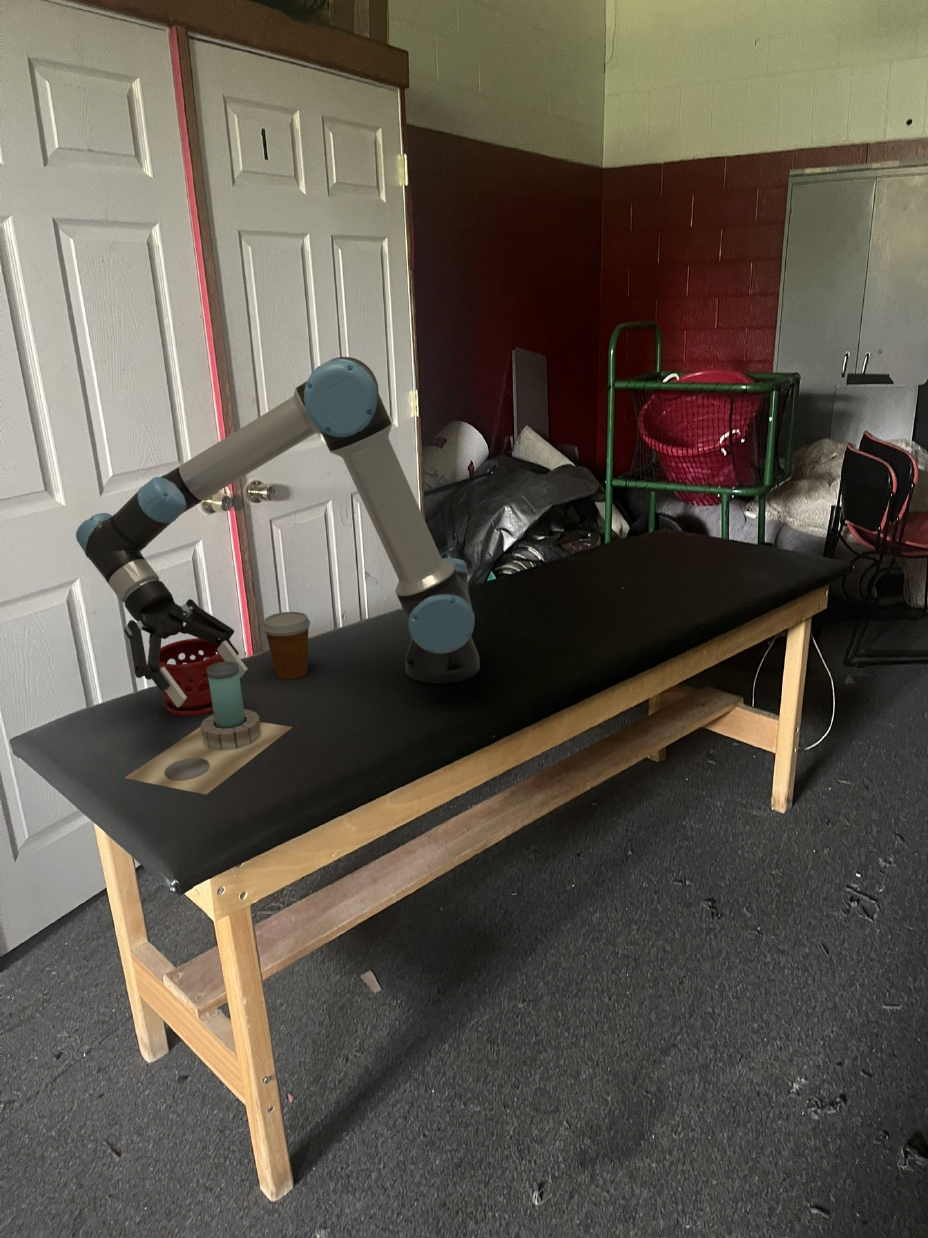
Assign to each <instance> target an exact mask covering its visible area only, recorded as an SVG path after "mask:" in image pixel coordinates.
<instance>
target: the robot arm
mask: <svg viewBox="0 0 928 1238" xmlns="http://www.w3.org/2000/svg"><path fill="white" fill-rule="evenodd" d="M379 391H380V390H379V383H378V380H377V377H376V376H375V374H374V372H373V371H372V370H371V368H370V367H369V366H368V365H367V364H366V363H364V362H363V361H361V360H359V359H358V358H354V357H349V356H340V357H334V358H331V359H329V360H328V361H325V362H324V363H322V364H320V365H318V366H317V367H316V368H315V369H314V370H313V371H312V372H311V374H310V375H309V377H308V379H307V380H306V381H305V382H303V383H302V384H300V385H298V386H296V387H295V389H294V394H293V396H291V397H290V398H288V399H287V400H285V401H284V402H282V403H280V404H279V405H276V406H275V407H273V408H272V409H270V410H269V411H267V412H265V413H264V414H262V415H260V416H258V417H257V418H256V419H254V420H252V421H251V422H249V423H247V424H246V425H245V426H243V427H241V428H239V429H238V430H236V431H234V432H233V433H231V434H229V435H227V436H226V437H225V438H223V439H221V440H220V441H218V442H217V443H215V444H213V445H211V446H210V447H208V448H207V449H205V450H203V451H202V452H200V453H198V454H197V455H195V456H194V457H192V458H190V459H189V460H187V461H185V462H184V463H182V464H180V465H179V466H178V467H176V468H174V469H172V470H171V471H169V472H168V473H166V474H163V475H162V476H155V477H153V478H151V479H150V480H149V481H148V482H147V483H145V484H144V485H142V486H141V487H140V488H139V489H138V491H137V492H135V494H134V495H133V496H132V497H130V498H129V500H128V501H127V502H126V503H125V504H124V505H123V506H122V507H121V508H120V509H119V510H118V511H117V512H116V513H114V514H113V515H112V514H111V513H108V512H100V513H97V514H94V515H92V516H91V517H89V518H88V519H85V520H84V521H83V522H81V524H80V525H79V526H78V527H77V529H76V532H75V539H76V541H77V542H78V544H79V546H80V547H81V549H82V551H83V552H84V554H85V556H86V558H88V560H89V561H90V562H91V563H92V564H93V566H94V567H95V568H96V569H97V571H98V572H99V573H100V575H101V576H102V578H103V579H104V580H105V581H106V583H107V584H108V586H109V587H110V589H111V591H112V592H114V594H115V595H116V596H117V598H118V599H119V600H120V602H121V603H123V604H124V608H125V609H126V611H127V612H128V613H129V614H130V616H131V617H132V618H133V620H132V619H130V620H129V621H128V623H127V624H126V626H125V627H124V628H123V629H124V630H123V632H124V633H125V635H126V637H127V639H128V641H129V646H130V652H131V653H130V654H131V660H132V666H133V670H134V675H135V677H136V678H137V679H141V678H142V677H144V678H145V679H146V680H148V681H150V680H152V681H153V683H154V684H155V685H156V687H157V688H158V689H159V690H160V691H161V693H162V692H163V691H165V692H166V693H167V694H168V696H169V697H170V698H171V700H172V701H173V702H174V704H175V705H176V706H177V707H180V706H181V705H182V704H183V702H184V701H185V700H186V698H187V697H186V695H185V694H184V693H183V691H182V690H181V689H180V687H179V686H178V685H177V683H176V682H175V681H174V679H173V678H172V677H171V675H170V674H169V672H168V671H167V670H166V668H165V667H162V668H160V670H159V669H158V668H159V660H160V650H161V648H162V639H163V640H166V639H168V638H169V637H171V636H176V635H179V633H180V634H183V635H186V634H187V635H190V636H192V637H195V638H200V639H202V640H205V641H207V642H209V643H212V644H214V645H217V646H219V648H218V649H217V651H218V652H219V654H220V655H221V656H222V658H223V659H224V660H225V662H235V663H237V664H238V666H239V678H242V677H243V676H244V675H245V673H246V672H247V671H248V667H247V666H246V665H245V663H244V662H243V661H242V660H241V658H240V656H239V655H240V653H239V651H238V650H237V648H236V647H235V645H233V643H232V641H231V640H230V639H231V638H232V636H233V635H234V633H235V630H234V629H233V627H231V626H229V625H228V624H226V623H224V622H223V621H221V620H220V619H218V618H217V617H215V616H213V615H212V614H211V613H209V612H207V611H205V610H204V609H202V608H201V607H199V605H197V603H196V602H195V601H194V600H193V599H189V598H188V600H186V603H183V604H182V605H178V604H177V603H176V602H175V600H174V596H173V593H171V591H170V590H169V589H168V587H167V586H166V585H165V584H164V582H163V581H162V580H160V577H159V575H158V574H157V572H156V571H155V570H154V568H153V567H152V566H151V564H150V563H149V562H148V561H147V559H146V558H145V557H144V556H143V554H142V551H143V550H144V549H145V548H146V547H148V545H149V544H150V543H152V541H153V540H155V539H156V538H157V537H158V536H159V535H160V534H161V533H162V532H164V530H166V528H168V527H169V526H170V525H171V524H172V523H173V522H176V520H177V519H178V518H179V517H180V516H181V515H182V514H184V513H185V512H188V511H189V510H190V509H192V508H194V507H195V506H197V505H199V504H201V503H202V502H203V501H205V500H207V499H208V498H210V497H212V496H213V495H215V494H216V493H219V492H220V491H221V490H223V489H225V488H226V487H228V486H230V485H232V484H233V483H236V482H237V481H238V480H240V479H241V478H243V477H245V476H246V475H248V474H250V473H251V472H253V471H255V470H257V469H258V468H260V467H261V466H263V465H265V464H267V463H268V462H270V461H272V460H274V459H275V458H277V457H279V456H280V455H282V454H283V453H285V452H287V451H289V450H290V449H292V448H293V447H295V446H296V445H299V444H300V443H302V442H303V441H305V440H307V439H309V438H310V437H312V436H313V435H315V434H319V435H322V438H323V440H324V442H325V444H326V447H327V448H328V450H329V452H330V454H333V455H336V456H338V457H341V458H342V460H343V462H344V464H345V466H346V468H347V470H348V473H349V475H350V477H351V479H352V481H353V484H354V486H355V488H356V490H357V492H358V494H359V497H360V499H361V502H362V503H363V505H364V508H365V510H366V512H367V514H368V516H369V518H370V520H371V523H372V526H373V527H374V530H375V531H376V534H377V535H378V538H379V540H380V542H381V544H382V547H383V550H384V551H385V553H386V555H387V557H388V560H389V562H390V564H391V565H392V566H391V567H392V568H393V570H394V573H395V575H396V576H397V577H396V578H397V580H398V583H397V585H396V587H395V594H396V597H397V599H398V601H399V603H400V605H401V608H402V610H403V612H404V613H405V616H406V618H407V619H406V620H407V622H408V627H407V628H408V631H409V633H410V636H411V637H410V641H409V645H408V649H407V653H406V657H405V659H404V660H405V662H404V665H405V673H406V675H407V676H408V677H409V678H410V679H412V680H415V681H417V682H421V683H425V684H435V685H436V684H451V683H457V682H460V681H466V680H467V679H471V678H472V677H474V676H475V675H477V673H478V672H479V671H480V670H481V669H480V666H481V664H480V655H479V653H478V650H477V647H476V645H475V643H474V639H473V637H472V635H473V632H474V627H475V620H476V617H475V616H476V615H475V612H474V610H473V607H472V602H471V601H472V600H471V598H470V593H469V583H468V575H469V571H468V566H467V565H468V564H467V563H466V562H465V560H463V559H461V558H460V559H459V558H450V557H442V556H441V555H440V552H439V549H438V547H437V546H436V543H435V540H434V538H433V536H432V534H431V532H430V530H429V527H428V525H427V522H426V521H425V518H424V516H423V513H422V511H421V509H420V506H419V504H418V503H417V502H418V501H417V500H416V498H415V495H414V493H413V491H412V489H411V486H410V484H409V482H408V480H407V479H408V478H407V476H406V475H405V472H404V470H403V468H402V466H401V464H400V461H399V459H398V456H397V454H396V452H395V450H394V447H393V445H392V442H391V440H390V438H389V437H390V432H391V429H392V427H393V424H392V421H391V418H390V417H389V414H388V412H387V410H386V406H385V405H384V402H383V399H382V397H381V396H380V393H379ZM184 623H185V624H184ZM142 631H144V632H146V633H148V634H149V639H148V644H149V645H148V646H149V647H148V655H146V651H145V646H144V640H143V633H142Z"/></svg>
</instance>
